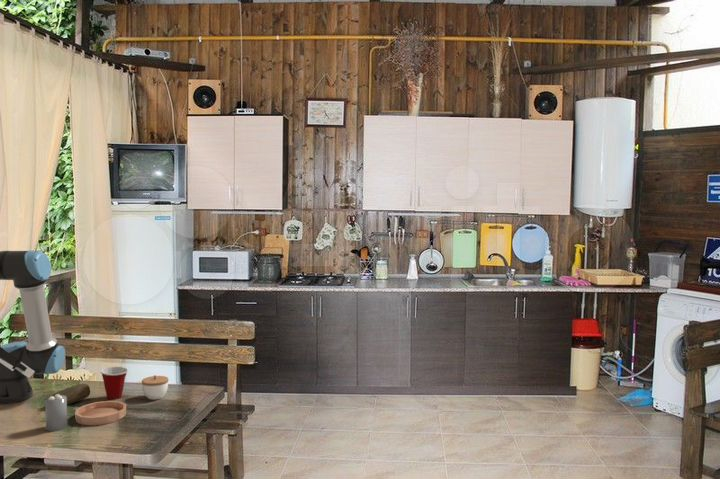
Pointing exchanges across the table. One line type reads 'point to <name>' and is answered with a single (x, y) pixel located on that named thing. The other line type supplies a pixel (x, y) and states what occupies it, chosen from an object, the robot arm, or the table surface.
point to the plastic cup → (114, 381)
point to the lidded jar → (155, 386)
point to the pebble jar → (56, 412)
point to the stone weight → (75, 393)
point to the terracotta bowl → (100, 413)
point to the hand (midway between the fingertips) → (23, 371)
